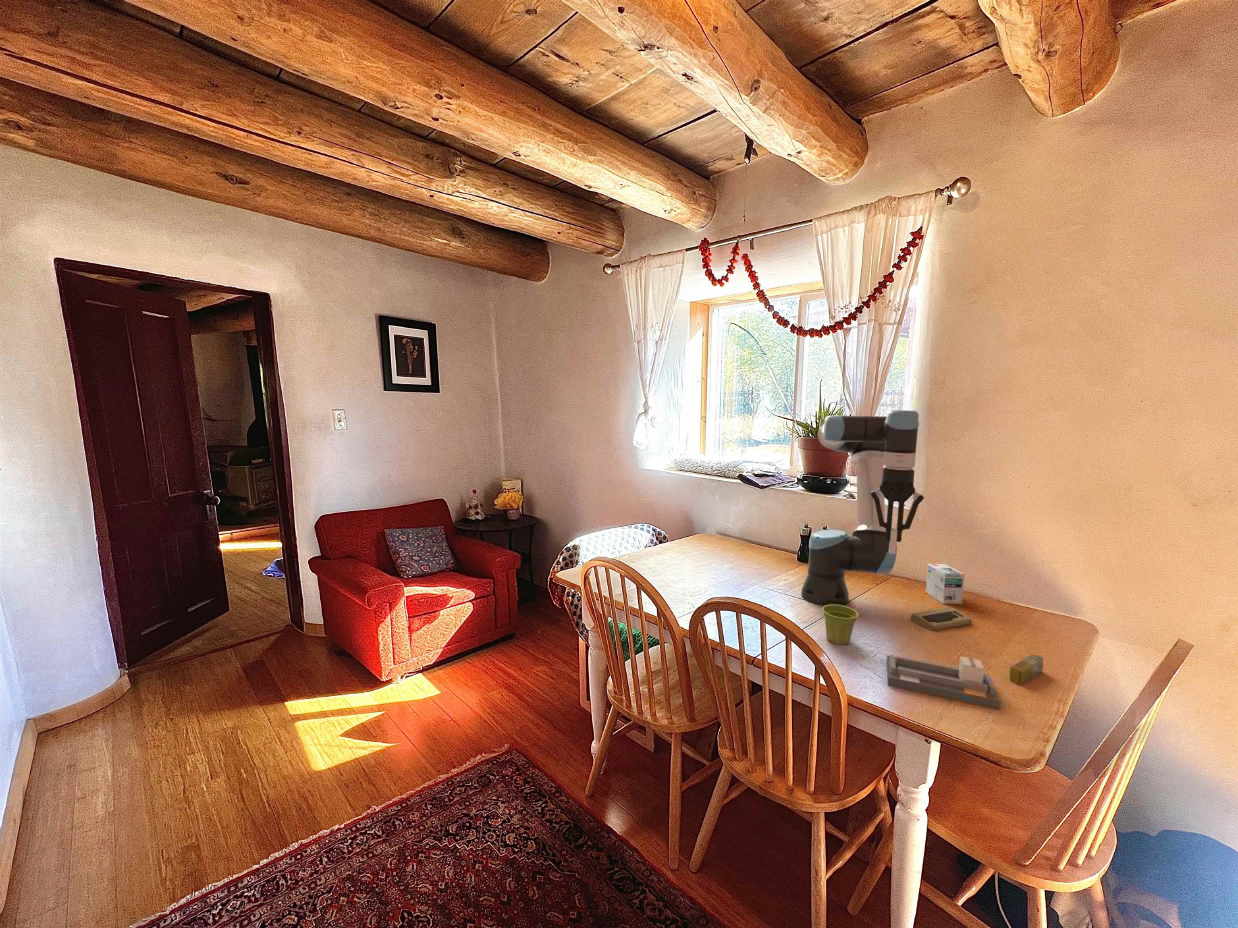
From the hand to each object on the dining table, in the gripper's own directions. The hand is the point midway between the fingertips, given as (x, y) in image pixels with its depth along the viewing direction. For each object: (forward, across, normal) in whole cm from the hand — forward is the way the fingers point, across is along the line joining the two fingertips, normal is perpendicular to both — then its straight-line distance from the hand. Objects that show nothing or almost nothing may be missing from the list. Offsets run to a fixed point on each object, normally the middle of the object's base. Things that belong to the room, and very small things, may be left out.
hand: (892, 552), depth 141 cm
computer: (+27, +16, +23) cm, 39 cm away
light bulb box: (+27, +19, +46) cm, 56 cm away
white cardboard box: (+24, +17, -18) cm, 35 cm away
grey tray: (+26, +11, -18) cm, 34 cm away
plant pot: (+27, -12, -4) cm, 29 cm away
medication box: (+27, +31, -4) cm, 41 cm away
